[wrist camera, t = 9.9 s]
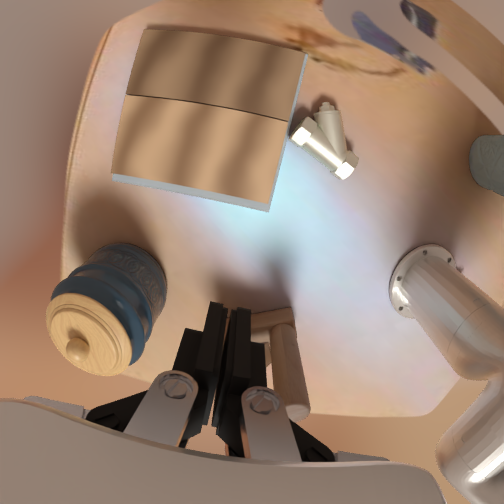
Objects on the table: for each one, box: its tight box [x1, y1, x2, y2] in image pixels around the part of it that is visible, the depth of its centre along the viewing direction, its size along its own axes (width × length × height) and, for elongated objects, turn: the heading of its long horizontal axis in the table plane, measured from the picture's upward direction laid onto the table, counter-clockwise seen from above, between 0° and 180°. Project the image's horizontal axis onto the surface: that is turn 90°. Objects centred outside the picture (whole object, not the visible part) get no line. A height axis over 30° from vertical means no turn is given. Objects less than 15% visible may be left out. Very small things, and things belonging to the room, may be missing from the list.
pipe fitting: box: [289, 102, 359, 180], centre depth 33 cm, size 8×4×7 cm
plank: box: [111, 95, 288, 204], centre depth 33 cm, size 20×10×2 cm, turn 77°
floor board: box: [126, 29, 306, 122], centre depth 30 cm, size 20×9×2 cm, turn 77°
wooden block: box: [214, 307, 311, 422], centre depth 35 cm, size 4×11×18 cm, turn 102°
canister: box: [46, 243, 167, 376], centre depth 33 cm, size 13×13×18 cm
